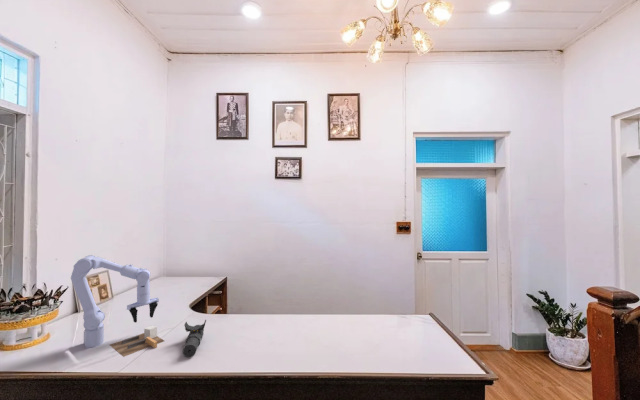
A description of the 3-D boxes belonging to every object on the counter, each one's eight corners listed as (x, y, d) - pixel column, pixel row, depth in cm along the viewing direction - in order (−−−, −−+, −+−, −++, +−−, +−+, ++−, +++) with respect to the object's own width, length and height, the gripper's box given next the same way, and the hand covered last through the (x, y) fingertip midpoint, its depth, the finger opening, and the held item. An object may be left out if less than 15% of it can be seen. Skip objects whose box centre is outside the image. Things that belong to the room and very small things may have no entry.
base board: (109, 346, 138) (109, 341, 138) (149, 333, 153) (149, 328, 153) (123, 358, 128) (123, 353, 128) (164, 342, 142) (164, 337, 142)
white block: (144, 338, 145) (144, 328, 145) (151, 334, 149) (151, 325, 149) (149, 339, 143) (149, 329, 143) (157, 336, 147) (157, 326, 147)
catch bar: (146, 342, 140) (146, 337, 140) (148, 341, 141) (148, 336, 141) (154, 348, 135) (154, 342, 135) (157, 347, 136) (157, 341, 136)
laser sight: (177, 359, 128) (177, 336, 128) (188, 336, 150) (188, 317, 150) (201, 356, 130) (201, 334, 130) (208, 334, 152) (208, 315, 152)
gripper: (154, 288, 156) (154, 313, 156) (124, 295, 145) (124, 322, 144) (160, 290, 152) (160, 316, 152) (130, 298, 140) (129, 325, 140)
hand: (143, 319), depth 148 cm, fingers open, 7 cm apart
